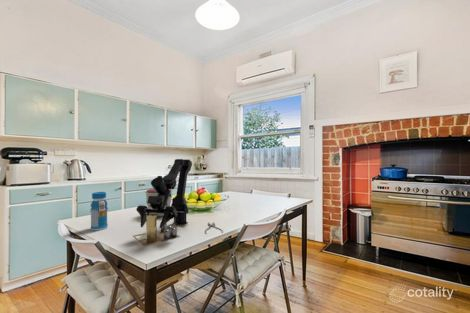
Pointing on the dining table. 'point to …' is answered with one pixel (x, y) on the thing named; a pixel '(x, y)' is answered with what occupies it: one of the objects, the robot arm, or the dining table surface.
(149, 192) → the canister
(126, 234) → the dining table surface
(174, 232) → the spacer posts
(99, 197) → the beverage bottle
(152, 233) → the disc
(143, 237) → the walnut board
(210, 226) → the pliers
